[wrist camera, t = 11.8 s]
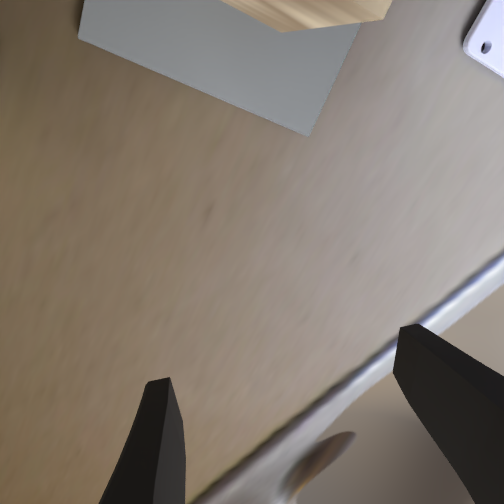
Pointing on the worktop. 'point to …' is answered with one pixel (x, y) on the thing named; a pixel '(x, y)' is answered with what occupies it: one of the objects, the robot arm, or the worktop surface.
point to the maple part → (311, 12)
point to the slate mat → (225, 53)
